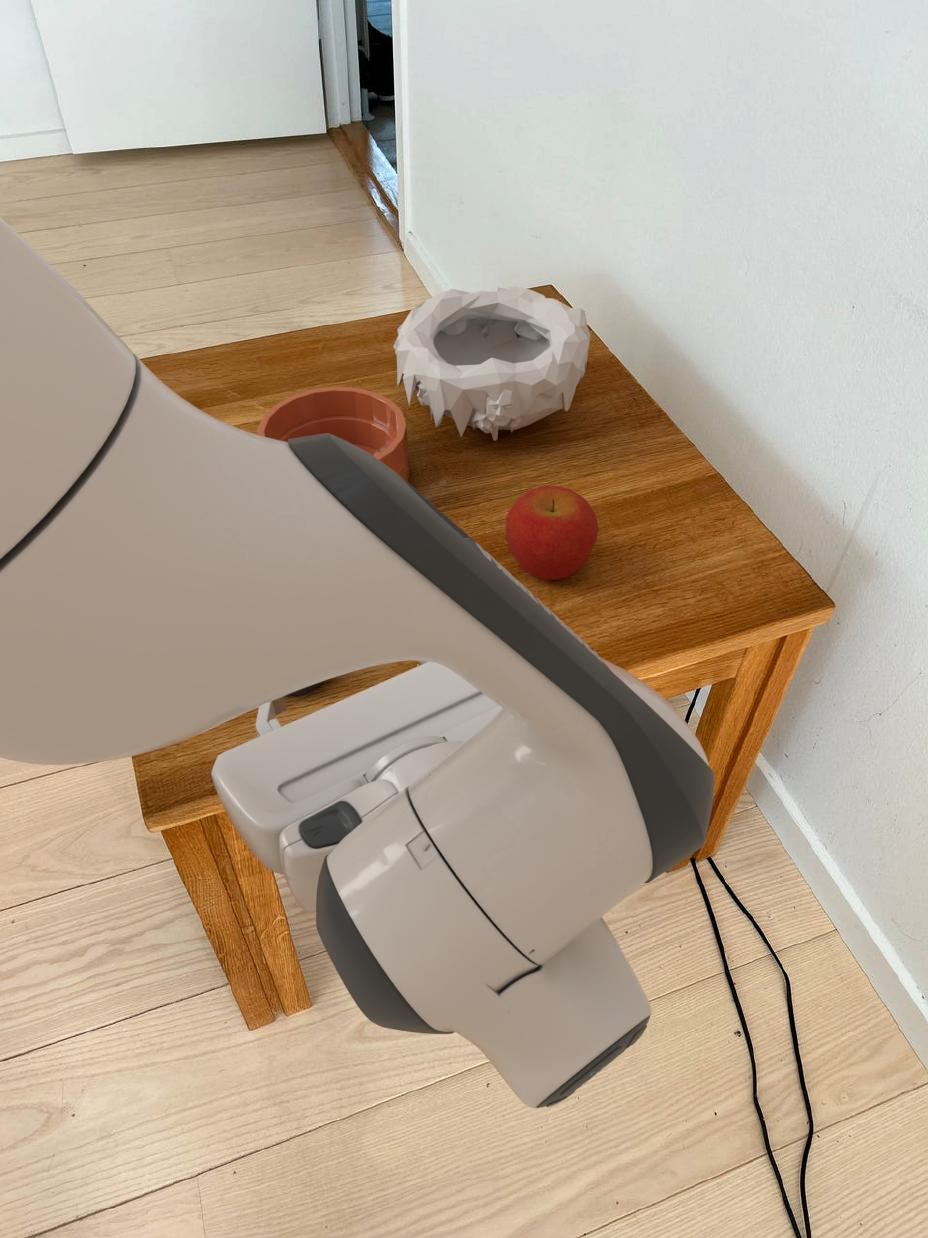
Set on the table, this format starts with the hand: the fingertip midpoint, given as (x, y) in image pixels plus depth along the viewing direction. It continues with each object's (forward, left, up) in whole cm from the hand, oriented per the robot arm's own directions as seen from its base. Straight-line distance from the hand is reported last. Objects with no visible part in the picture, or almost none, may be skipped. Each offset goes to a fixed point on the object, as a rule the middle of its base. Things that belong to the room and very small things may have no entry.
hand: (330, 658), depth 61 cm
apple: (+26, +1, -11) cm, 28 cm away
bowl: (+42, +21, -11) cm, 48 cm away
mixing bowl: (+22, +24, -11) cm, 35 cm away
